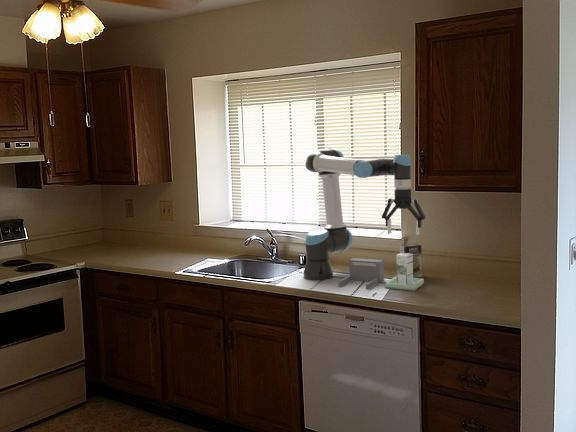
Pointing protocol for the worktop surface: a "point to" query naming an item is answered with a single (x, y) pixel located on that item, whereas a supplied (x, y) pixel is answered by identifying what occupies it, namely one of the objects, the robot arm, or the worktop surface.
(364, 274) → the bay
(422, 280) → the tray
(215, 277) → the worktop surface
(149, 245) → the worktop surface
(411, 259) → the syrup box
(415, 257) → the coffee box
